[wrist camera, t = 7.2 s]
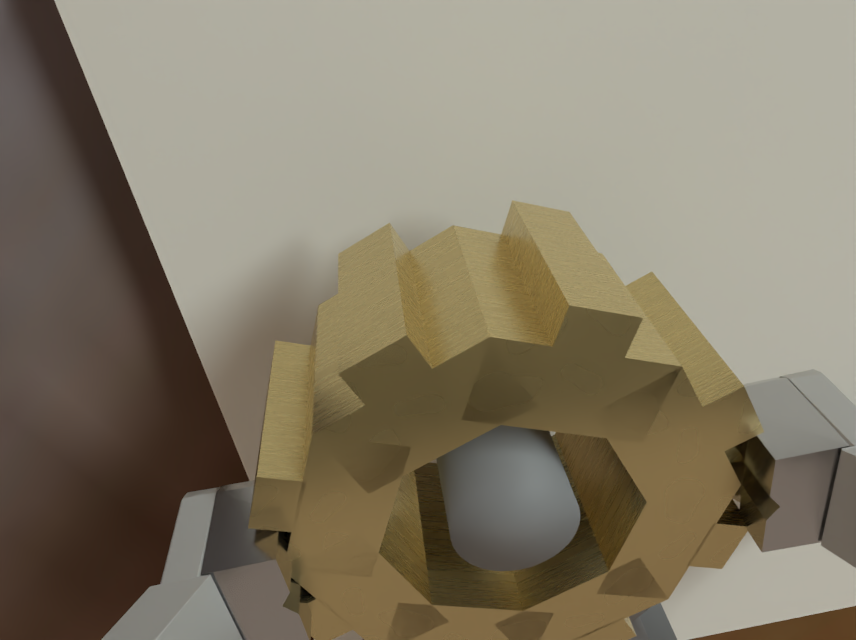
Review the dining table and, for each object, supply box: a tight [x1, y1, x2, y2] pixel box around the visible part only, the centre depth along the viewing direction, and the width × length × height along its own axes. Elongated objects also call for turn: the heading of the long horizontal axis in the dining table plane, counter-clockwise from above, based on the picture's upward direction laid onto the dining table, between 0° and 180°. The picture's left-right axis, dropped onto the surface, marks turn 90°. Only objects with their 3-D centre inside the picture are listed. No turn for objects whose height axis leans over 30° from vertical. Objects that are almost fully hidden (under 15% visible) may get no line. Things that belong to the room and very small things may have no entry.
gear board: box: [54, 0, 856, 640], centre depth 13 cm, size 20×18×7 cm
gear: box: [248, 200, 764, 640], centre depth 11 cm, size 7×7×3 cm
